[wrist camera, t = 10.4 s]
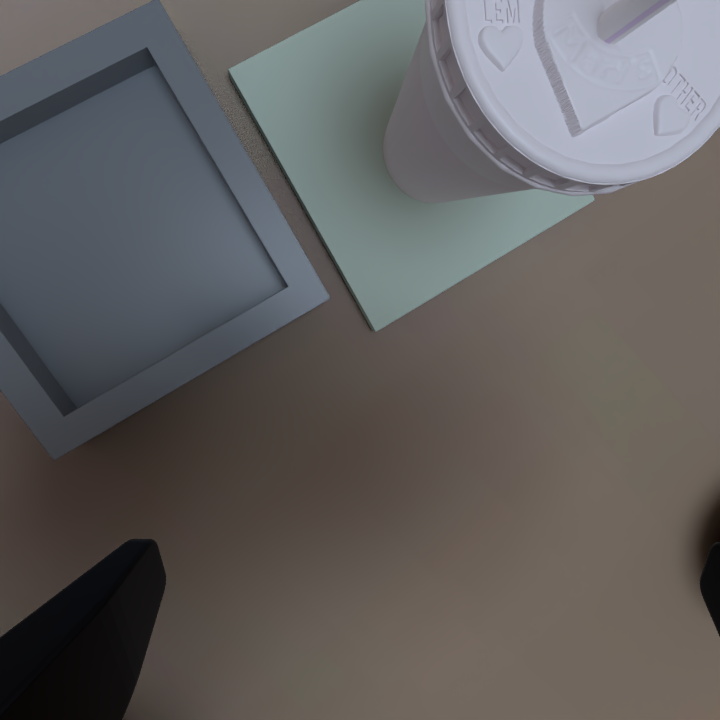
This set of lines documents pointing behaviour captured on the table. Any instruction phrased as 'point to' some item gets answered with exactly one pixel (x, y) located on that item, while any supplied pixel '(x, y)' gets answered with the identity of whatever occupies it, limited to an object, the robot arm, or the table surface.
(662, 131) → the smoothie
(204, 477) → the table surface
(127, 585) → the robot arm
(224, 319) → the tray
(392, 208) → the mat
